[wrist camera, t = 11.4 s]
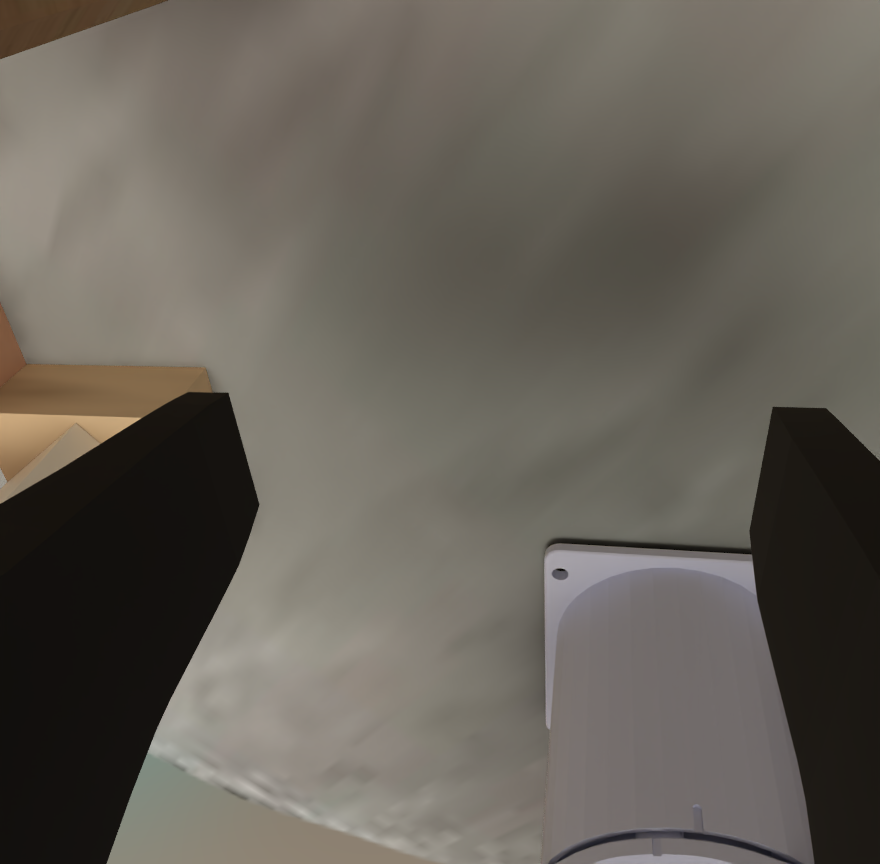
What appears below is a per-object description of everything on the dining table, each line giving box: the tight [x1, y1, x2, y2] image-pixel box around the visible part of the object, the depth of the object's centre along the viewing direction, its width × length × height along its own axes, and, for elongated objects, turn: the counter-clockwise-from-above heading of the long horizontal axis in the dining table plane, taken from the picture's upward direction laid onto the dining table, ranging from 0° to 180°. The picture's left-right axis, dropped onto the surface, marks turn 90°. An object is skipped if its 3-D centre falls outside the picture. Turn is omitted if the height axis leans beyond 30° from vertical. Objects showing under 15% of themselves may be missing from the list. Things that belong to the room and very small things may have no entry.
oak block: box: [0, 364, 213, 482], centre depth 25 cm, size 6×6×3 cm
